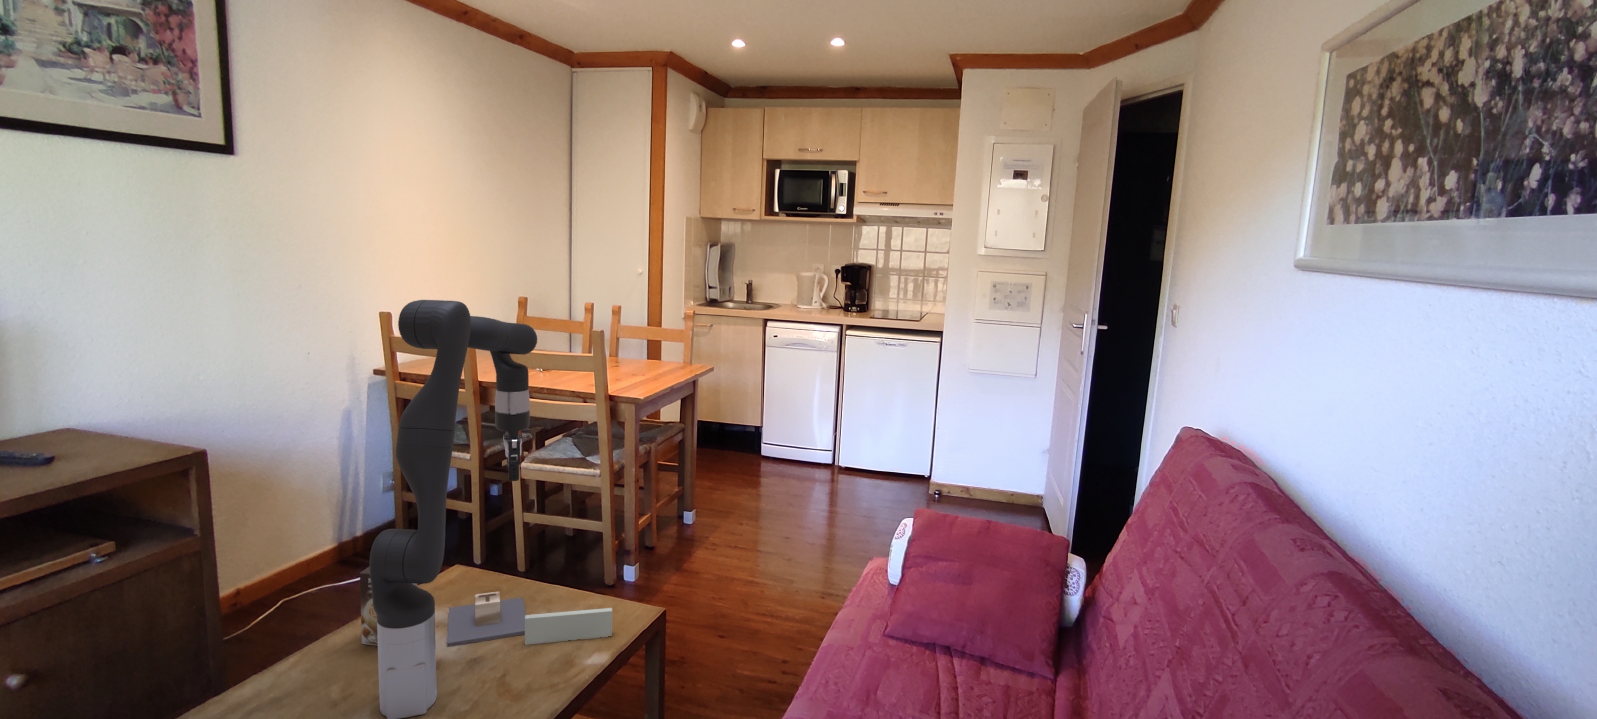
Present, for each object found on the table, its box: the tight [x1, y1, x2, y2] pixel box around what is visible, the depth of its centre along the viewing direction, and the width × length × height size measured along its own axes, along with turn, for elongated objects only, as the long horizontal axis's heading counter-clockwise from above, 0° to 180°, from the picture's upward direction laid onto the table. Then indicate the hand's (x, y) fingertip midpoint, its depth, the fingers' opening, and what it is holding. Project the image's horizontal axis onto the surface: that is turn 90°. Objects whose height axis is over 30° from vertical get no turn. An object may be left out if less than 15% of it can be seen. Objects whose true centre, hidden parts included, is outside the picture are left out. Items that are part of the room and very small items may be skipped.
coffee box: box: [359, 565, 418, 647], centre depth 151 cm, size 9×6×16 cm
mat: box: [446, 597, 527, 648], centre depth 161 cm, size 16×16×1 cm
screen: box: [524, 607, 613, 646], centre depth 156 cm, size 2×18×6 cm, turn 107°
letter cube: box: [474, 591, 501, 626], centre depth 161 cm, size 5×5×5 cm
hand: (512, 474), depth 170 cm, fingers open, 8 cm apart
